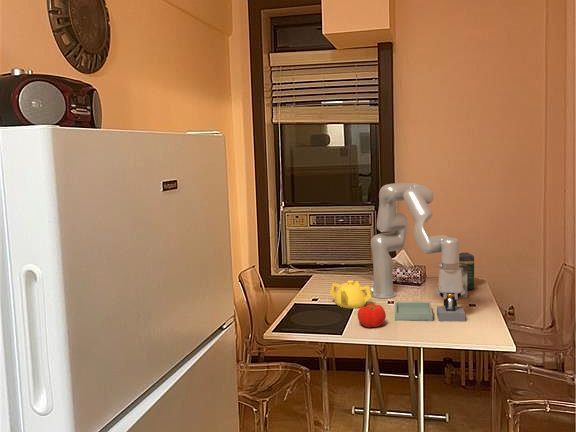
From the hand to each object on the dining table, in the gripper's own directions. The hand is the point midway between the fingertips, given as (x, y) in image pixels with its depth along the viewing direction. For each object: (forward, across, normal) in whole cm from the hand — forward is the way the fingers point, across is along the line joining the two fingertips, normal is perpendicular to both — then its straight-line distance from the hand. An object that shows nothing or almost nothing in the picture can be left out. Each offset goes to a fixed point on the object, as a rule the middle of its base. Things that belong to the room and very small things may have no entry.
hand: (450, 307), depth 265 cm
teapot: (+5, -45, +19) cm, 49 cm away
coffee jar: (+5, +12, +53) cm, 54 cm away
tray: (+5, -16, +4) cm, 17 cm away
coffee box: (+5, +6, +37) cm, 38 cm away
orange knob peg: (+4, 0, 0) cm, 4 cm away
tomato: (+5, -34, -13) cm, 37 cm away
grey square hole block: (+5, 0, 0) cm, 5 cm away
